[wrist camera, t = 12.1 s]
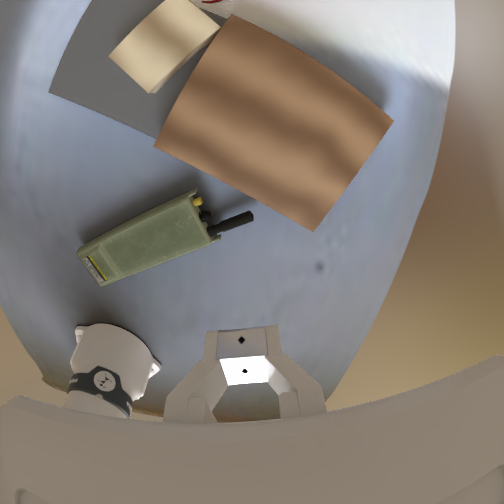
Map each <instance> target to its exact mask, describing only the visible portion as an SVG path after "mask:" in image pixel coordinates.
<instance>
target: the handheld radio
mask: <svg viewBox="0 0 504 504" xmlns="http://www.w3.org/2000/svg"><path fill="white" fill-rule="evenodd" d="M197 189H198V188H197ZM197 189H194V190H192V191H189V192H187V193H185V194H183V195H180V196H178V197H176V198H174V199H172V200H170V201H168V202H165V203H163V204H161V205H159V206H157V207H155V208H153V209H151V210H149V211H147V212H145V213H143V214H141V215H139V216H137V217H135V218H133V219H131V220H129V221H127V222H125V223H123V224H121V225H119V226H117V227H116V228H114V229H112V230H110V231H108V232H106V233H104V234H103V235H101V236H99V237H97V238H95V239H94V240H92V241H90V242H88V243H86V244H85V245H83V246H81V247H80V248H79V249H78V251H77V252H76V254H77V256H78V257H79V259H80V260H81V262H82V263H83V264H84V266H85V267H86V269H87V270H88V271H89V273H90V274H91V275H92V277H93V278H94V279H95V281H96V282H97V283H98V285H99V286H100V287H103V286H105V285H108V284H110V283H113V282H115V281H118V280H120V279H123V278H125V277H128V276H130V275H133V274H135V273H138V272H140V271H143V270H145V269H148V268H151V267H153V266H156V265H158V264H161V263H163V262H166V261H169V260H171V259H174V258H176V257H179V256H181V255H184V254H187V253H189V252H192V251H195V250H197V249H200V248H202V247H205V246H208V245H210V244H211V243H214V242H216V241H218V240H220V239H221V234H220V235H217V233H219V232H222V231H224V232H225V231H227V230H230V229H233V228H235V227H238V226H241V225H243V224H246V223H249V222H252V221H253V214H252V213H251V212H250V211H247V212H244V213H242V214H239V215H237V216H234V217H231V218H229V219H226V220H224V221H221V222H220V223H219V224H216V225H211V226H208V224H207V222H206V221H207V220H209V219H210V218H211V213H210V212H209V211H208V210H205V211H200V209H199V207H198V206H199V205H200V204H202V203H203V201H202V198H201V197H198V198H195V199H194V198H193V196H192V195H194V194H196V193H197ZM215 235H216V236H215Z"/></svg>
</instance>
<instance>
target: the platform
mask: <svg viewBox="0 0 504 504" xmlns="http://www.w3.org/2000/svg"><path fill="white" fill-rule="evenodd" d="M393 122H394V120H392V119H391V118H390V117H389V116H388V115H387V114H386V113H385V112H384V111H382V110H381V109H380V108H379V107H378V106H377V105H375V104H374V103H373V102H372V101H371V100H369V99H368V98H367V97H366V96H365V95H363V94H362V93H361V92H360V91H358V90H357V89H356V88H354V87H353V86H352V85H351V84H349V83H348V82H347V81H345V80H344V79H343V78H341V77H340V76H338V75H337V74H336V73H334V72H333V71H331V70H330V69H329V68H327V67H326V66H324V65H323V64H321V63H320V62H318V61H317V60H315V59H314V58H312V57H311V56H309V55H307V54H306V53H304V52H303V51H301V50H299V49H298V48H296V47H294V46H293V45H291V44H289V43H287V42H286V41H284V40H282V39H280V38H279V37H277V36H275V35H273V34H271V33H269V32H267V31H266V30H264V29H262V28H260V27H258V26H256V25H254V24H252V23H249V22H247V21H245V20H243V19H241V18H239V17H236V16H234V15H232V14H231V15H230V17H229V18H228V19H227V21H226V22H225V24H224V25H223V26H222V28H221V29H220V31H219V32H218V34H217V35H216V36H215V38H214V39H213V41H212V42H211V44H210V45H209V47H208V48H207V50H206V52H205V53H204V55H203V56H202V58H201V59H200V61H199V63H198V64H197V66H196V67H195V69H194V71H193V72H192V74H191V76H190V77H189V79H188V81H187V83H186V84H185V86H184V88H183V90H182V91H181V93H180V95H179V97H178V99H177V100H176V102H175V104H174V106H173V108H172V110H171V112H170V114H169V116H168V118H167V120H166V121H165V123H164V125H163V128H162V130H161V132H160V134H159V136H158V138H157V140H156V142H155V144H154V146H153V147H156V148H158V149H160V150H162V151H164V152H166V153H168V154H170V155H172V156H174V157H176V158H178V159H180V160H182V161H184V162H186V163H188V164H190V165H192V166H194V167H196V168H198V169H200V170H201V171H203V172H205V173H207V174H209V175H211V176H213V177H215V178H217V179H219V180H221V181H223V182H224V183H226V184H228V185H230V186H232V187H234V188H236V189H237V190H239V191H241V192H243V193H245V194H247V195H249V196H250V197H252V198H254V199H256V200H258V201H259V202H261V203H263V204H265V205H267V206H268V207H270V208H272V209H274V210H276V211H277V212H279V213H281V214H283V215H284V216H286V217H288V218H290V219H291V220H293V221H295V222H296V223H298V224H300V225H302V226H303V227H305V228H307V229H308V230H310V231H312V232H314V230H315V229H316V228H317V226H318V225H319V224H320V223H321V221H322V220H323V219H324V217H325V216H326V215H327V213H328V212H329V211H330V209H331V208H332V207H333V205H334V204H335V203H336V201H337V200H338V199H339V197H340V196H341V194H342V193H343V192H344V190H345V189H346V188H347V186H348V185H349V184H350V182H351V181H352V180H353V178H354V177H355V175H356V174H357V173H358V171H359V170H360V168H361V167H362V166H363V164H364V163H365V162H366V160H367V159H368V157H369V156H370V155H371V153H372V152H373V150H374V149H375V147H376V146H377V145H378V143H379V142H380V140H381V139H382V138H383V136H384V135H385V133H386V132H387V130H388V129H389V127H390V126H391V125H392V123H393Z"/></svg>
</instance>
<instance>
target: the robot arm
mask: <svg viewBox="0 0 504 504" xmlns="http://www.w3.org/2000/svg"><path fill="white" fill-rule="evenodd" d="M265 329H266V330H265ZM75 335H76V340H77V346H76V348H75V351H74V353H73V356H72V358H71V361H70V364H71V367H72V370H73V372H74V375H73V376H72V378H71V381H70V382H69V384H68V389H67V394H68V396H67V398H66V401H65V404H64V406H63V407H60V406H56V405H52V404H48V403H44V402H41V401H37V400H34V399H31V398H28V397H24V396H21V395H17V396H14V397H13V398H11V399H10V400H8V401H7V402H6V403H5V404H3V405H2V406H1V407H0V504H504V356H501V355H493V356H491V357H489V358H487V359H485V360H483V361H481V362H479V363H477V364H475V365H473V366H471V367H468V368H466V369H464V370H462V371H459V372H457V373H455V374H452V375H450V376H448V377H445V378H443V379H440V380H437V381H435V382H433V383H430V384H427V385H424V386H421V387H418V388H416V389H413V390H410V391H407V392H404V393H400V394H397V395H394V396H390V397H387V398H384V399H380V400H376V401H373V402H369V403H365V404H361V405H357V406H352V407H348V408H343V409H338V410H333V411H329V412H327V410H326V405H325V401H324V396H323V392H322V387H321V385H319V384H318V383H317V382H316V381H315V380H314V379H313V378H312V377H310V376H309V375H308V374H307V373H306V372H305V371H304V370H303V369H302V368H300V367H299V366H298V365H297V364H296V363H295V362H294V361H293V360H292V359H291V358H289V357H288V356H287V355H286V354H282V351H281V344H280V337H279V330H278V325H269V326H261V327H252V328H243V329H233V330H219V331H207V332H206V336H205V344H204V353H203V361H199V362H198V363H197V364H196V365H195V367H194V368H193V369H192V370H191V371H190V372H189V373H188V374H187V375H186V376H185V378H184V379H183V380H182V381H181V382H180V383H179V384H178V385H177V386H176V387H175V388H174V389H173V391H172V392H171V393H170V394H169V395H168V396H167V398H166V404H165V410H164V416H163V422H156V421H144V420H134V419H129V417H130V414H131V412H132V406H133V401H134V400H135V399H139V398H140V397H142V396H143V395H144V392H145V388H146V385H147V382H148V379H149V378H150V377H152V376H153V375H154V374H155V373H157V372H158V371H159V370H160V367H161V365H160V363H159V362H158V361H157V360H155V359H154V358H153V357H152V355H151V353H150V351H149V349H148V348H147V346H146V345H145V344H144V343H143V342H142V341H141V340H140V339H139V338H137V337H136V336H135V335H133V334H132V333H130V332H128V331H126V330H124V329H122V328H120V327H117V326H114V325H110V324H94V325H91V326H88V327H85V326H77V327H76V329H75ZM255 382H268V383H269V384H270V386H271V387H272V388H273V389H274V390H275V392H276V393H277V394H278V395H279V403H280V416H281V419H274V420H264V421H251V422H235V423H217V421H216V419H215V417H214V415H213V413H212V410H213V408H214V407H215V405H216V404H217V402H218V401H219V399H220V398H221V396H222V395H223V393H224V392H225V390H226V389H227V387H228V385H232V384H242V383H255Z"/></svg>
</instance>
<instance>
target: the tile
mask: <svg viewBox="0 0 504 504" xmlns="http://www.w3.org/2000/svg"><path fill="white" fill-rule="evenodd" d="M220 29H221V27H220V26H219V25H218V24H216V23H215V22H214V21H213V20H212V19H211V18H210V17H208V16H207V15H206V14H205V13H204V12H202V11H201V10H200V9H199V8H197V7H196V6H195V5H194V4H192V3H191V2H190V1H189V0H165V1H164V2H163V3H161V4H160V5H159V6H158V7H157V8H156V9H154V10H153V11H152V12H151V13H150V14H149V15H148V16H147V17H146V18H145V19H144V20H143V21H141V22H140V23H139V24H138V25H137V26H136V27H135V28H134V29H133V30H132V31H131V32H130V33H129V34H128V35H127V36H126V37H125V38H124V40H123V41H122V42H121V43H120V44H119V45H118V46H117V47H116V48H115V49H114V50H113V52H112V53H111V54H110V55H109V56H108V57H109V58H111V59H112V60H113V61H114V62H115V63H116V64H117V65H118V66H119V67H121V68H122V69H123V70H124V71H125V72H126V73H127V74H128V75H129V76H130V77H131V78H132V79H134V80H135V81H136V82H137V83H138V84H139V85H140V86H141V87H142V88H143V89H144V90H145V91H146V92H147V93H156V92H157V91H158V90H159V89H160V88H161V87H162V86H163V85H164V84H165V83H166V82H167V81H168V80H169V79H170V78H171V77H172V76H173V75H174V74H175V73H176V72H177V71H178V70H180V69H181V68H182V67H183V66H184V65H185V64H186V63H187V62H188V61H189V60H190V59H192V58H193V57H194V56H195V55H196V54H197V53H198V52H200V51H201V50H202V49H203V48H204V47H206V46H207V45H208V44H209V43H210V42H212V41H213V39H214V38H215V36H216V35H217V34H218V32H219V31H220Z"/></svg>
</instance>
